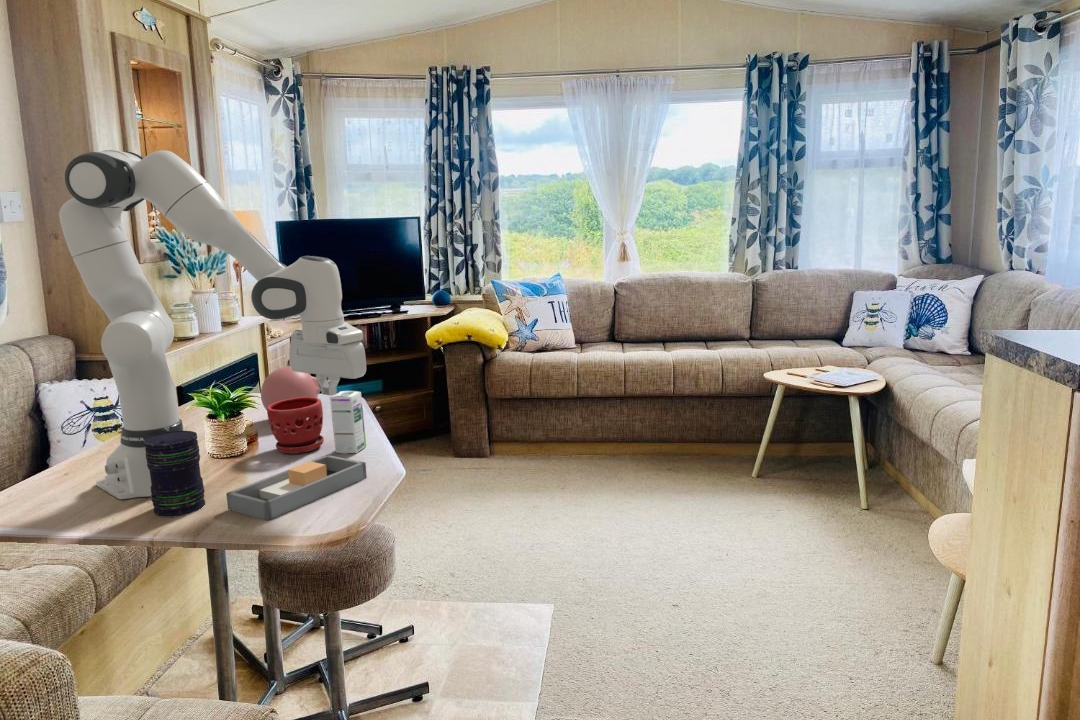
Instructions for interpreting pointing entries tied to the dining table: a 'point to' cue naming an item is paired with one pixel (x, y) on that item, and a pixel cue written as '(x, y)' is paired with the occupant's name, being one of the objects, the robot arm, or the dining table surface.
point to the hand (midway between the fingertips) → (329, 394)
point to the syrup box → (348, 422)
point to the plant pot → (296, 424)
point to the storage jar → (175, 473)
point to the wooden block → (307, 473)
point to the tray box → (294, 489)
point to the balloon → (288, 386)
